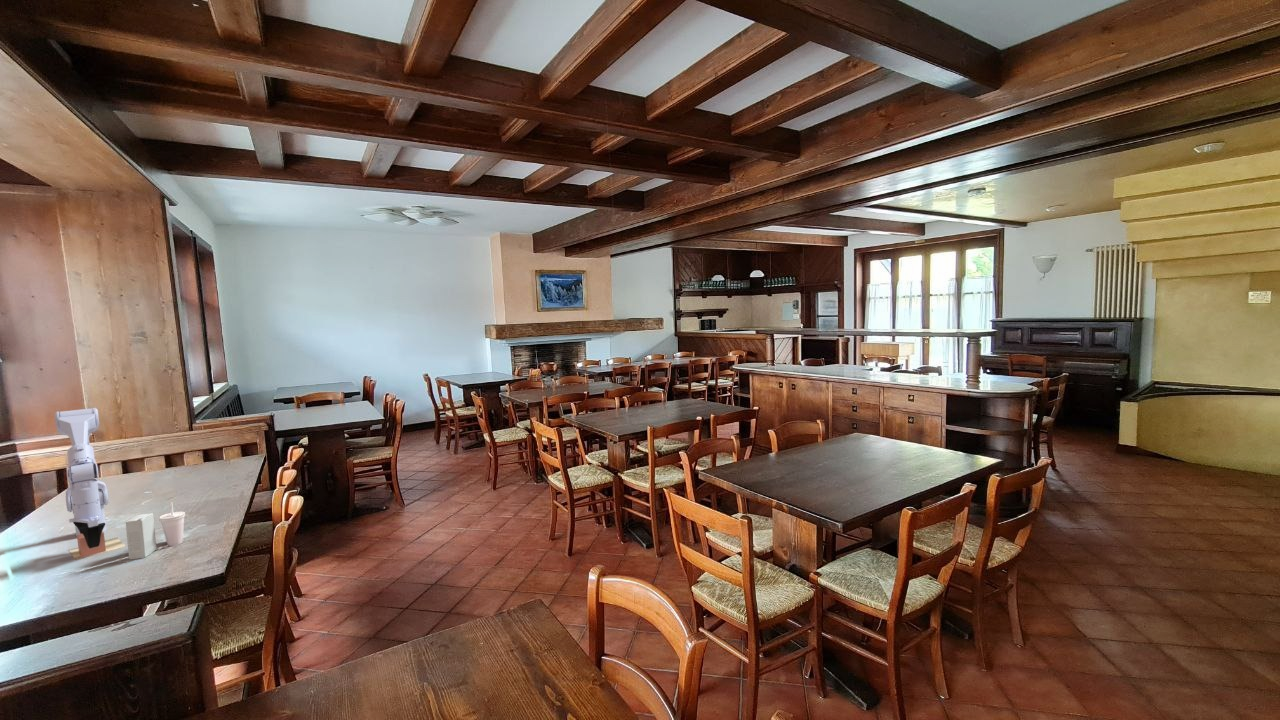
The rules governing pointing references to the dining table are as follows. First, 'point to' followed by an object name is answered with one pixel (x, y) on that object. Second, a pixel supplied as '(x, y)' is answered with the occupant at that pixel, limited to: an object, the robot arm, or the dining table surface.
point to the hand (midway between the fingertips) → (91, 544)
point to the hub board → (109, 545)
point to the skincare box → (141, 536)
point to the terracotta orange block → (84, 548)
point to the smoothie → (173, 526)
